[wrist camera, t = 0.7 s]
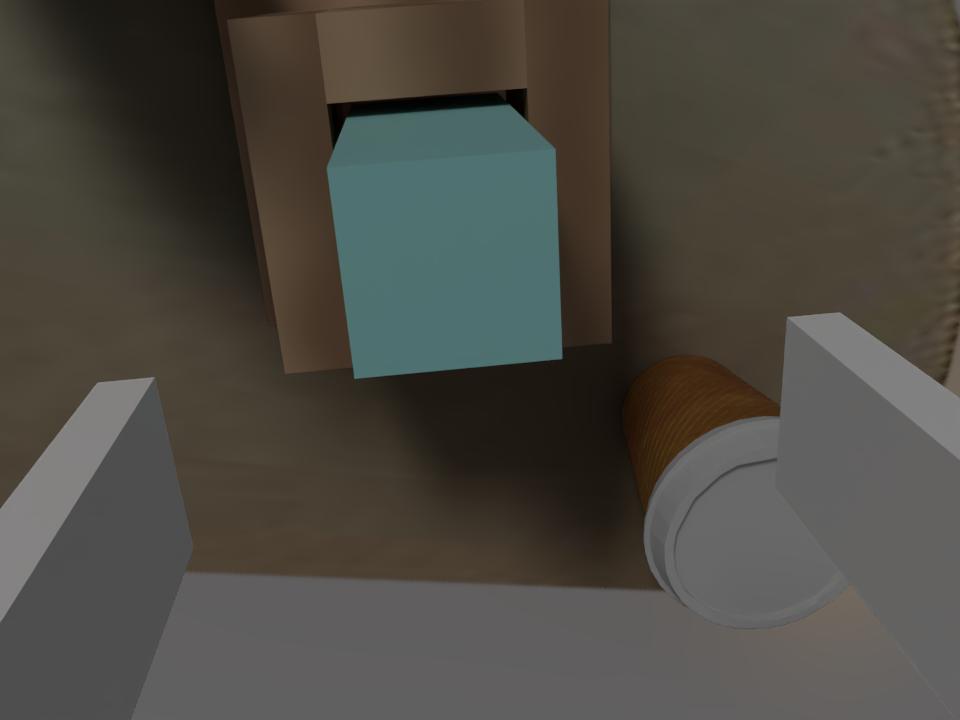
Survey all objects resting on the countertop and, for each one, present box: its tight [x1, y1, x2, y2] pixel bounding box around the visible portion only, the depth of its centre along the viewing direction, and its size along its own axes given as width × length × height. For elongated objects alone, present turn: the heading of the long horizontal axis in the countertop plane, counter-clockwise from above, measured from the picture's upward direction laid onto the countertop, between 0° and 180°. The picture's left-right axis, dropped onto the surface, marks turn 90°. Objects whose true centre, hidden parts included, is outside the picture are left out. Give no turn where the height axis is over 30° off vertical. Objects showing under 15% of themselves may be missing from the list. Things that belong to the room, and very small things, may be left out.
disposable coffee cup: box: [622, 355, 850, 629], centre depth 41 cm, size 10×10×12 cm
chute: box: [214, 0, 612, 374], centre depth 34 cm, size 16×16×13 cm
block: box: [327, 93, 562, 379], centre depth 26 cm, size 5×5×12 cm
